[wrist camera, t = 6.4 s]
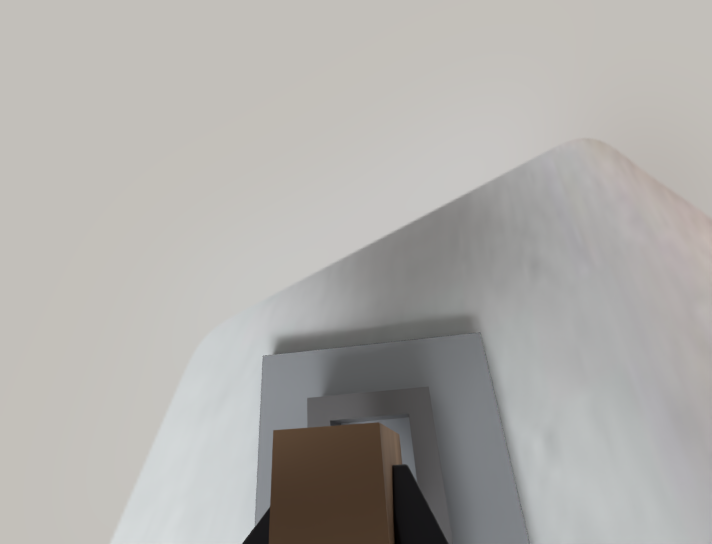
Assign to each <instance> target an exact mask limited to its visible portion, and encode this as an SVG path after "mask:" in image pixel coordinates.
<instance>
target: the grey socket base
mask: <svg viewBox="0 0 712 544" xmlns="http://www.w3.org/2000/svg"><path fill="white" fill-rule="evenodd" d="M377 422H380V423H381V424H383V425H384V426H386V427H388V428H389V429H391V430H393V431H394V432H396V433H398V434H399V436H400V446H401V456H402V464H406V465H408V466H409V468H410V470H411V472H412V474H413V476H414V477H415V479H416V481H417V483H418V485H419V487H420V489H421V491H422V493H423V495H424V497H425V498H426V500H427V502H428V504H429V506H430V508H431V510H432V512H433V514H434V516H435V517H436V519H437V521H438V523H439V525H440V527H441V529H442V531H443V533H444V535H445V537H446V538H447V540H448V542H449V544H530V543H529V539H528V535H527V531H526V526H525V522H524V518H523V513H522V509H521V505H520V501H519V496H518V492H517V488H516V483H515V479H514V475H513V471H512V466H511V462H510V458H509V454H508V449H507V445H506V441H505V436H504V432H503V428H502V424H501V419H500V415H499V411H498V406H497V402H496V398H495V394H494V389H493V385H492V381H491V376H490V372H489V368H488V364H487V359H486V355H485V351H484V346H483V342H482V338H481V334H480V332H478V333H469V334H460V335H451V336H441V337H432V338H423V339H414V340H404V341H395V342H386V343H377V344H367V345H358V346H349V347H340V348H330V349H321V350H312V351H302V352H293V353H284V354H275V355H265V356H263V362H262V383H261V404H260V426H259V447H258V468H257V489H256V510H255V526H256V525H257V523H258V522H259V520H260V519H261V518H262V516H263V515H264V514H265V512H266V511H267V510H268V508H269V507H270V498H271V473H272V448H273V430H283V429H296V428H310V427H323V426H337V425H350V424H364V423H377Z"/></svg>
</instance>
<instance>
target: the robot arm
mask: <svg viewBox="0 0 712 544" xmlns="http://www.w3.org/2000/svg"><path fill="white" fill-rule="evenodd" d="M392 481H393V521H394V530H395V536H396V543H397V544H449V542H448V540H447V538H446V537H445V535H444V533H443V531H442V529H441V527H440V525H439V523H438V521H437V519H436V517H435V516H434V514H433V512H432V510H431V508H430V506H429V504H428V502H427V500H426V498H425V497H424V495H423V493H422V491H421V489H420V487H419V485H418V483H417V481H416V479H415V477H414V476H413V474H412V472H411V470H410V468H409V466H408V465H406V464H399V465H393V466H392ZM269 523H270V507H269V508H268V510H267V511H266V512H265V514H264V515H263V516H262V518H261V519H260V520H259V522H258V523H257V525H256V526H255V527H254V529H253V530H252V531H251V533H250V534H249V535H248V537H247V538H246V539H245V541H244V542H243V543H242V544H269Z"/></svg>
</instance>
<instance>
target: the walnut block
mask: <svg viewBox="0 0 712 544" xmlns="http://www.w3.org/2000/svg"><path fill="white" fill-rule="evenodd" d="M399 464H402V456H401V446H400V436H399V434H398V433H396V432H394V431H393V430H391V429H389V428H388V427H386V426H384V425H383V424H381V423H380V422H377V423H364V424H350V425H337V426H323V427H310V428H296V429H283V430H273V448H272V473H271V498H270V523H269V544H397V543H396V536H395V530H394V521H393V481H392V466H393V465H399Z"/></svg>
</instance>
